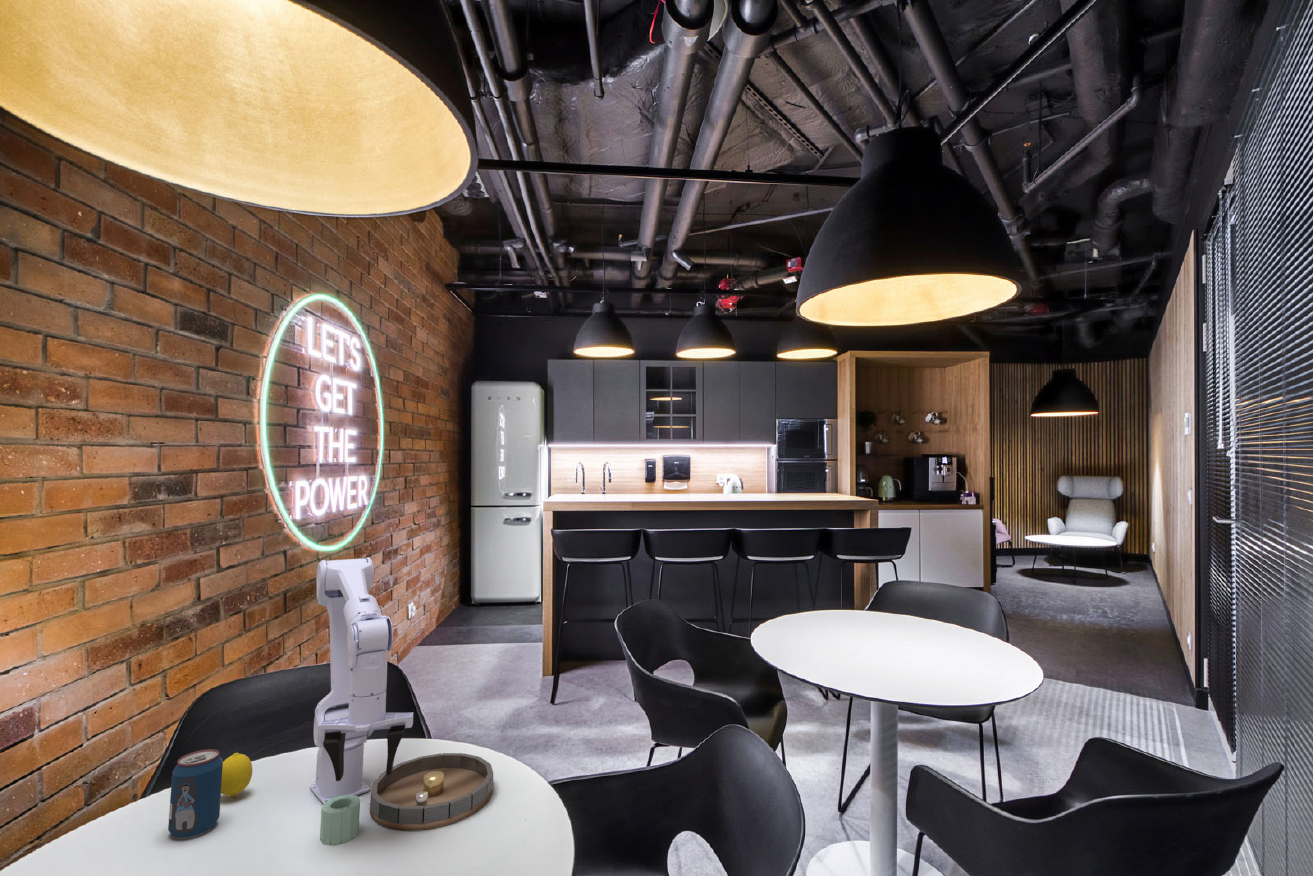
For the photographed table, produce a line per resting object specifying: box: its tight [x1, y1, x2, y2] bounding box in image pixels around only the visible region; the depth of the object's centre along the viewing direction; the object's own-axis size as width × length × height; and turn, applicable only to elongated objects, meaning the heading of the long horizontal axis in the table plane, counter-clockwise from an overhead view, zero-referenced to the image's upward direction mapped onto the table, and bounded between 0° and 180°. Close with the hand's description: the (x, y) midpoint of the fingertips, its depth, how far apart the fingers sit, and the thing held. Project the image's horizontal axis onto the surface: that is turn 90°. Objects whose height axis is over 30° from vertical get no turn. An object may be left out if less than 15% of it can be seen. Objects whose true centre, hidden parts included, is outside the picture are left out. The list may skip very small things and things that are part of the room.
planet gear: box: [319, 795, 361, 846], centre depth 100 cm, size 6×6×5 cm
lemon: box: [221, 752, 253, 799], centre depth 112 cm, size 6×6×8 cm
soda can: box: [167, 748, 224, 840], centre depth 102 cm, size 7×7×12 cm
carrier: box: [369, 752, 494, 832], centre depth 112 cm, size 22×22×4 cm
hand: (364, 775), depth 100 cm, fingers open, 7 cm apart
